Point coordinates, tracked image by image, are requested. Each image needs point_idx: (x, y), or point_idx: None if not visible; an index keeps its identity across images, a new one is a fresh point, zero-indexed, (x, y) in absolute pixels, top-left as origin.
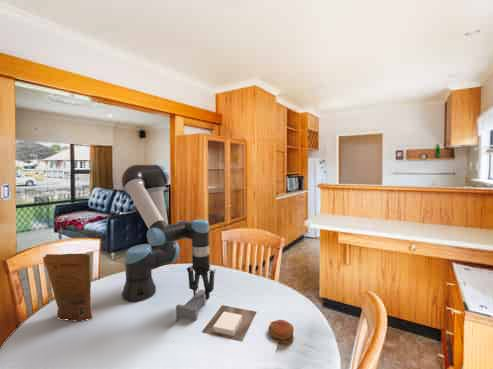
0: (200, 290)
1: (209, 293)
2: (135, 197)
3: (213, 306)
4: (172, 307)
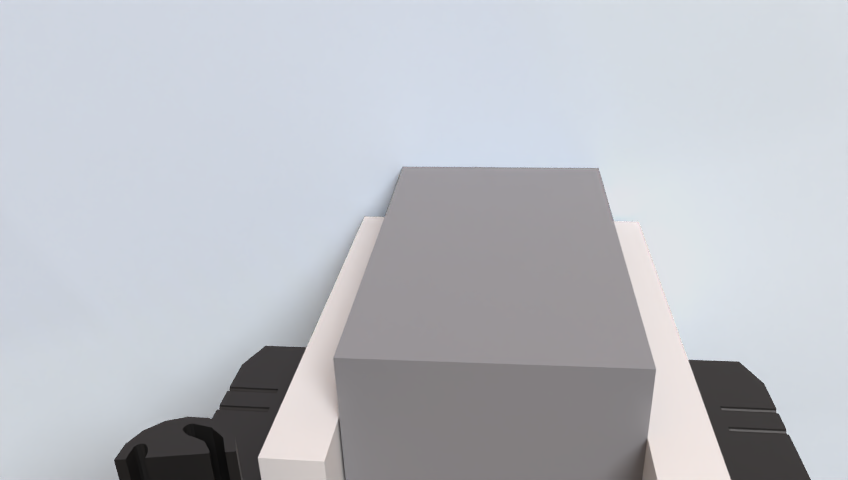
0: (374, 414)
1: (807, 478)
2: None
3: (805, 248)
4: (16, 469)
